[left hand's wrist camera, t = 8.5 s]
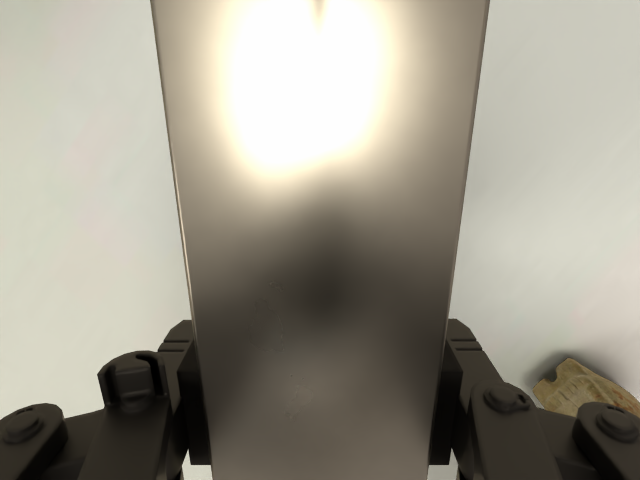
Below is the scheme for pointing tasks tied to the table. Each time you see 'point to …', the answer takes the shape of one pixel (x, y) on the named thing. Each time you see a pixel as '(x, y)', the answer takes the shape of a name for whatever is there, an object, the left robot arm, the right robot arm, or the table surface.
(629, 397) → the sculpture
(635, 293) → the table surface
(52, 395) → the table surface
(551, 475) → the left robot arm
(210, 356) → the bar
